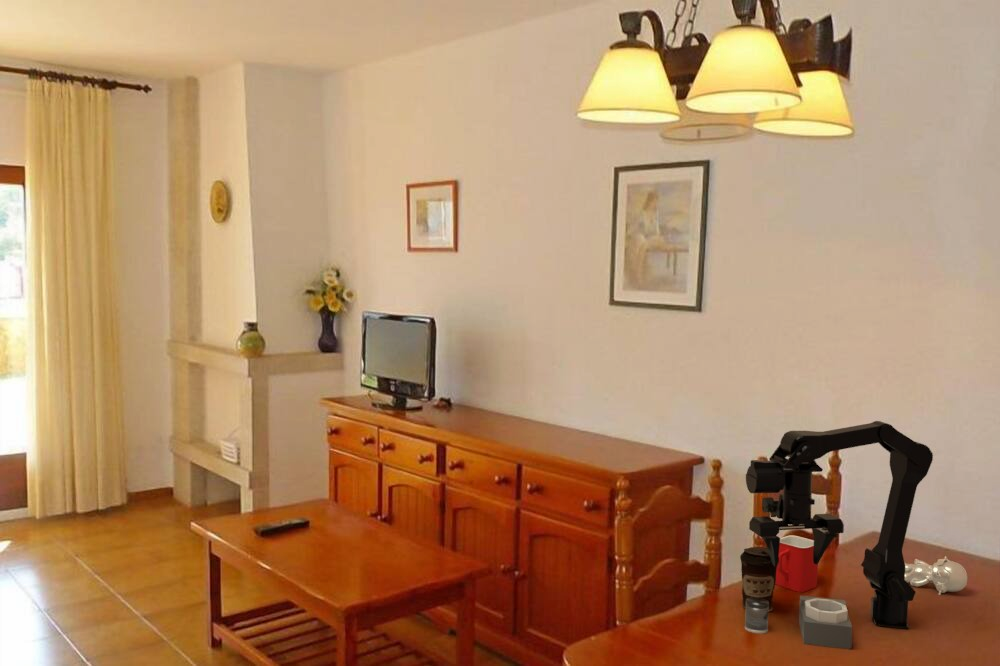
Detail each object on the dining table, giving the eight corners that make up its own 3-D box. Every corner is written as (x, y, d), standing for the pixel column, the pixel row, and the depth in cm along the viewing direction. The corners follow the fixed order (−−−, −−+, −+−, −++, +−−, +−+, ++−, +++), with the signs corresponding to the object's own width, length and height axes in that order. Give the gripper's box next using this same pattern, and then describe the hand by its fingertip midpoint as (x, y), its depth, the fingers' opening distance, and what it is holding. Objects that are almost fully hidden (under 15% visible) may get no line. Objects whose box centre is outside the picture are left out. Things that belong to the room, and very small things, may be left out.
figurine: (899, 546, 219) (963, 548, 209) (910, 563, 223) (974, 566, 212) (891, 583, 213) (957, 588, 203) (903, 600, 217) (968, 605, 206)
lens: (767, 626, 187) (768, 598, 187) (768, 634, 182) (769, 606, 182) (744, 623, 188) (745, 596, 188) (744, 631, 184) (746, 603, 183)
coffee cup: (779, 617, 192) (781, 558, 191) (739, 613, 194) (742, 555, 193) (775, 602, 201) (777, 546, 200) (737, 599, 202) (739, 543, 201)
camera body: (843, 626, 188) (845, 596, 187) (851, 649, 176) (852, 617, 176) (798, 621, 190) (800, 591, 189) (803, 643, 178) (804, 611, 178)
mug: (789, 577, 219) (791, 534, 218) (820, 586, 212) (822, 542, 212) (762, 587, 211) (763, 543, 210) (793, 597, 205) (795, 551, 204)
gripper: (818, 481, 196) (816, 551, 197) (738, 484, 193) (737, 555, 194) (846, 494, 185) (844, 567, 186) (762, 497, 182) (760, 572, 183)
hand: (795, 565), depth 187 cm, fingers open, 9 cm apart
